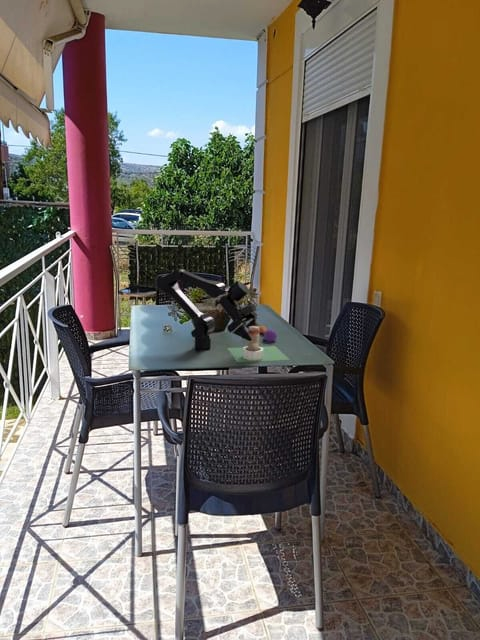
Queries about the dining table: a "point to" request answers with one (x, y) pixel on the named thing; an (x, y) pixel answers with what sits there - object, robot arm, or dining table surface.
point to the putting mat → (269, 354)
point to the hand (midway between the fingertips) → (255, 337)
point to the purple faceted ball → (268, 334)
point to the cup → (252, 354)
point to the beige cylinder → (253, 338)
